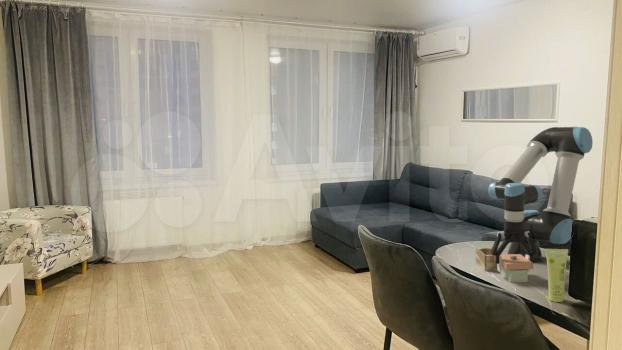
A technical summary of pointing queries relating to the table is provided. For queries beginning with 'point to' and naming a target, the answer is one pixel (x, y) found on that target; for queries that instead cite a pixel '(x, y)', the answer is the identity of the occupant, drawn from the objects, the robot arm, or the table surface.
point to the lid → (515, 262)
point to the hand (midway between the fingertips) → (513, 270)
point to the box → (486, 259)
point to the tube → (556, 273)
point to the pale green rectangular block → (515, 275)
